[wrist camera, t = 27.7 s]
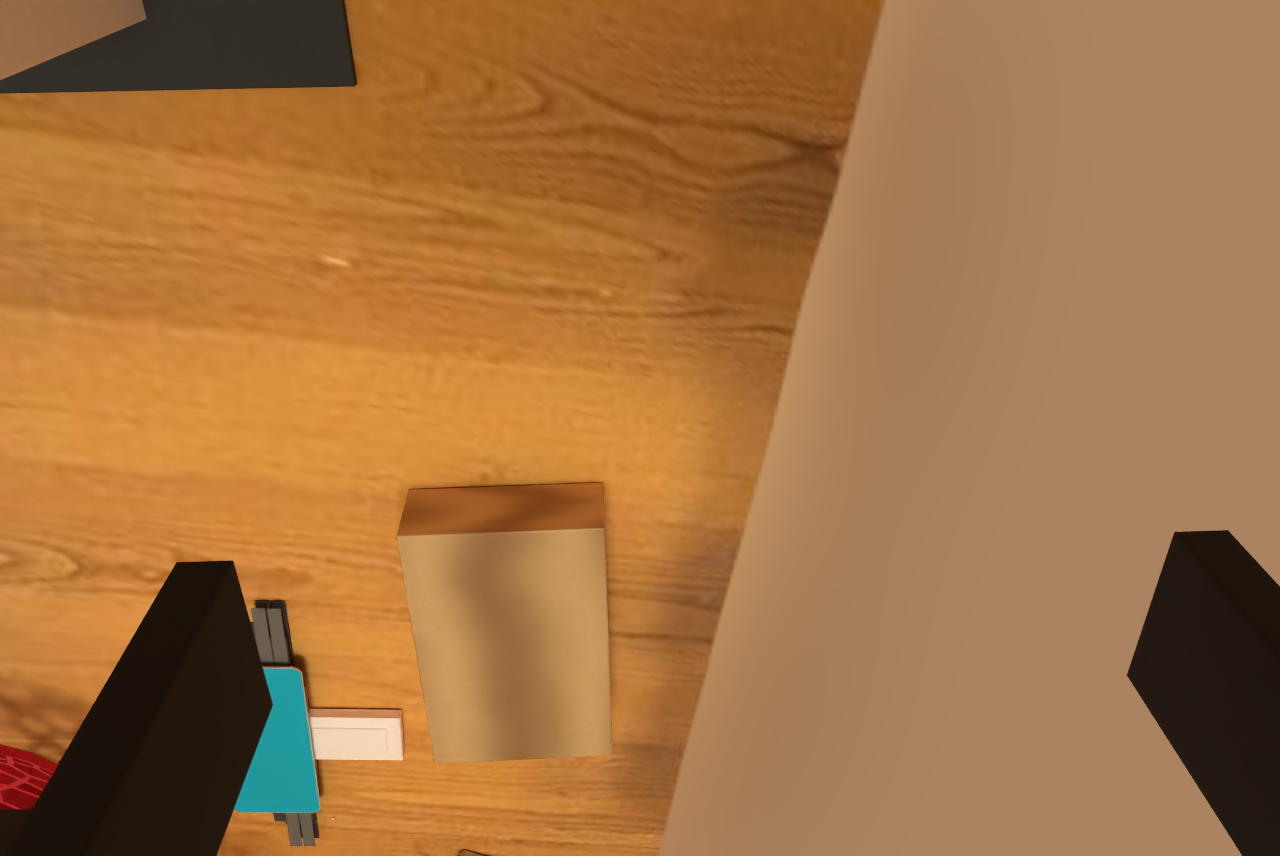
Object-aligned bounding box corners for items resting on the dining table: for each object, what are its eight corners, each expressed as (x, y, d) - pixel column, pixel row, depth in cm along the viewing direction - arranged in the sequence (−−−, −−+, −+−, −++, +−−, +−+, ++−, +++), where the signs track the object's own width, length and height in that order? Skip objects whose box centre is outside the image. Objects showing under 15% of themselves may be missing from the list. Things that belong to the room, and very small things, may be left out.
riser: (603, 481, 51) (604, 528, 47) (610, 702, 59) (612, 755, 56) (408, 489, 50) (395, 536, 47) (443, 710, 59) (434, 764, 55)
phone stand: (410, 837, 64) (406, 859, 63) (223, 836, 63) (215, 859, 62) (394, 603, 54) (389, 623, 53) (170, 598, 53) (159, 618, 52)
